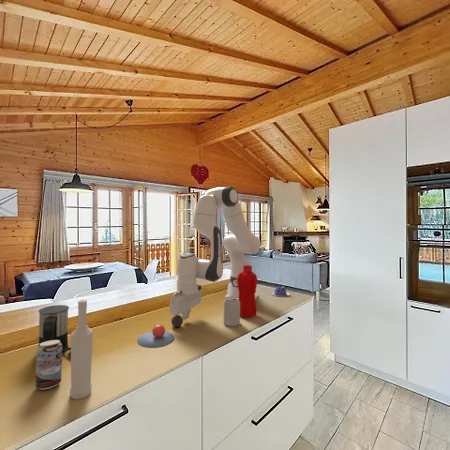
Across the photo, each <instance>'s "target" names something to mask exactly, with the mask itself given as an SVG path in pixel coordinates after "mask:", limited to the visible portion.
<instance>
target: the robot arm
mask: <svg viewBox="0 0 450 450" xmlns="http://www.w3.org/2000/svg"><path fill="white" fill-rule="evenodd" d="M218 209H221V210H222V213H223V214H222V215H223V219H224V221H225V225H226V228H227V230H228V231H229V232H231V234H226V235H225V236H224V237H223V240H222V235H221V234H222V233H221V230H220V229H221V228H219V227H218V226H217V211H218ZM193 215H194V216H193V221H192V223H193V227H194V229H195V230H196V231H197V232H198V233H199V234H201V235H203V236H205V237H207V238H208V239H209V241H210V259H205V258H201V257H200V258H199V257H197V255H196V253H193V252H184V253H181V254H179V257H178V261H177V270H176V272H177V273H176V274H177V280H176V292H175V293H173V295H171V298H170V302H169V314H170V315H174V316H175V315H180V314H181V315H182V316H181V317H182V319H183V321H186V320H188V319H189V318H190V315H191V314H190V313H191V310H192V308H194V307H195V306H198V305H200V304H201V302H202V289H203V285H202V284H197V279H198V280H204V281H208V282H212V283H216V282H217V281H218V280H220V279H221V278H222V276H223V274H224V273H223V272H224V267H223V260H222V245H223V247H224V249H225V250H226V252H227V253H228V256H229V260H230V277H229V283H228V284H227V293H226V294H225V296H224V297H225V298H226V297H231V296H232V297H239V290H238V285H237V277H238V274H239V273H241V272H242V271H243V266H244V265H250V266H251V264H250V261H249V260H247V258H246V256H245V255H253V254H256V253H258V252H259V251H260V250H261V248H262V247H261V243H262V242H261V240H260V238H259V237H257V236H256V235H255V234H254V233H253V232H252V231H251V230H250V227H249V226H248V224H247V222H246V220H245V216H244V211H243V208H242V205H241V203H240V200H239V194H238V191H237V189H236V188H235V187H233V186H229V185H228V186H217V187H214V188H209V189H208V188H207V189H205V190H203V191H202V192H201V194H200V196H199V197H198V200H197V203H196V206H195V210H194V214H193ZM258 294H259V293H257V292H256V293H255V301H256V300H257V298H258V297H259V295H258Z"/></svg>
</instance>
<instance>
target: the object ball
mask: <svg viewBox="0 0 450 450" xmlns="http://www.w3.org/2000/svg"><path fill="white" fill-rule="evenodd" d="M151 332H152V334H153V336H154V337H156V338H161V337H162V336H163V335H164V334H165V332H166V328H165V326H163V325H162V324H156V325H155V326H154V327H153V328H152V331H151Z"/></svg>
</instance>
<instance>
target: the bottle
mask: <svg viewBox="0 0 450 450" xmlns="http://www.w3.org/2000/svg"><path fill="white" fill-rule="evenodd" d="M87 308H88V300H87V299H80V300H78V303H77V313H78V314H77V326H76V328H75V329H74V330H73V331H72V332H71V334H70V347H71V350H70V382H71V383H70V386H71V387H70V388H69V389H70V390H69V394H70V397H71V399H72V400H82V399H85V398H86V397H88V396H89V395H91V393H92V386H93V384H92V383H91V382H92V358H93V337H94V335H93V332H94V331H93V329H91V328H90V327H89V325H87Z"/></svg>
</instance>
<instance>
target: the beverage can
mask: <svg viewBox="0 0 450 450" xmlns="http://www.w3.org/2000/svg"><path fill="white" fill-rule="evenodd" d="M35 357H36V359H35V361H36V362H35V364H36V365H35V384H34V387H35V388H37V389H39V390H48V389H52V388H54V387H56V386H57V385H59V384H60V382H61V381H62V374H63V373H62V368H63V367H62V366H63V353H62V344H61V343H60V340H50V341H46V342H42V343H40V346H39V347H37V349H36V356H35Z"/></svg>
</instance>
